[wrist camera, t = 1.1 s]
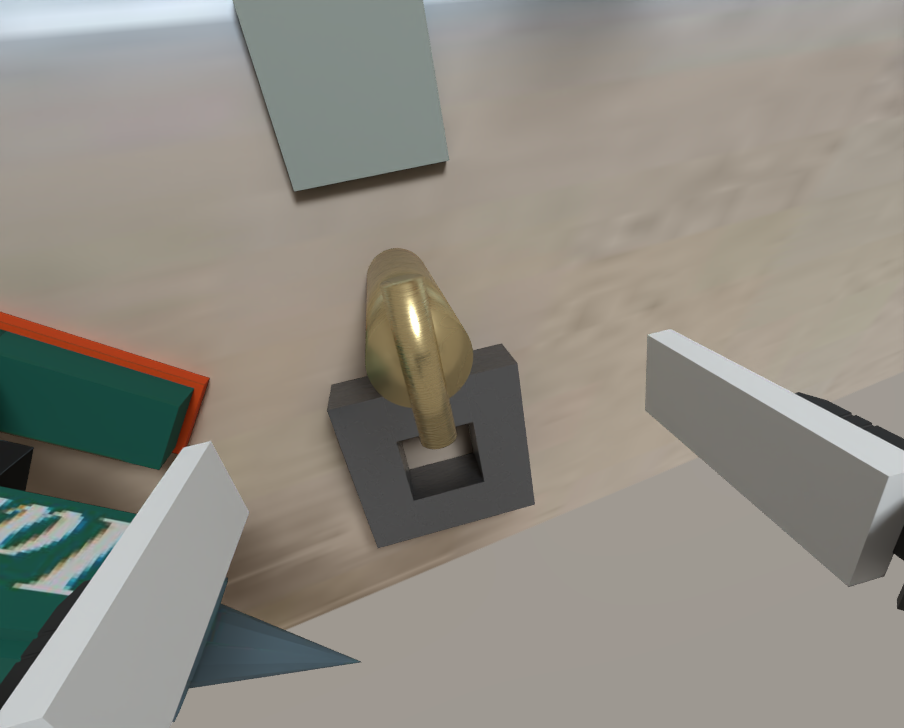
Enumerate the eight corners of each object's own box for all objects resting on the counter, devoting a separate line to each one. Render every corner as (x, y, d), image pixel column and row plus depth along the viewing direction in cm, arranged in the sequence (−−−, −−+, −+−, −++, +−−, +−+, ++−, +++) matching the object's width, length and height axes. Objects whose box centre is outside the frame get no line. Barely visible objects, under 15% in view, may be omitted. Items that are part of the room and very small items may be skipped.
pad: (296, 190, 27) (294, 191, 26) (234, -6, 23) (228, -13, 22) (446, 160, 28) (449, 160, 27) (414, -34, 23) (415, -43, 23)
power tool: (382, 426, 35) (395, 685, 17) (350, 489, 37) (334, 779, 19) (-120, 265, 25) (-1419, 503, 7) (-125, 365, 27) (-1132, 752, 9)
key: (380, 330, 32) (389, 461, 17) (354, 236, 29) (339, 299, 14) (436, 317, 32) (492, 434, 18) (416, 223, 29) (464, 271, 14)
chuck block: (377, 513, 39) (377, 548, 35) (331, 384, 33) (327, 410, 29) (519, 475, 40) (534, 504, 37) (501, 343, 34) (517, 363, 30)
